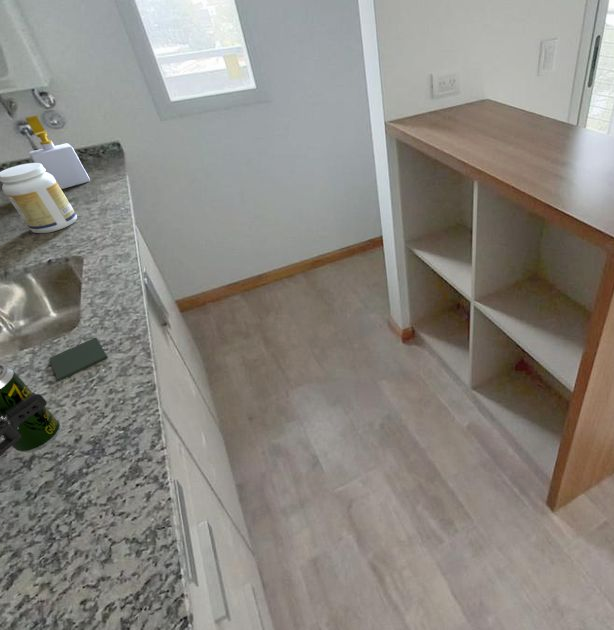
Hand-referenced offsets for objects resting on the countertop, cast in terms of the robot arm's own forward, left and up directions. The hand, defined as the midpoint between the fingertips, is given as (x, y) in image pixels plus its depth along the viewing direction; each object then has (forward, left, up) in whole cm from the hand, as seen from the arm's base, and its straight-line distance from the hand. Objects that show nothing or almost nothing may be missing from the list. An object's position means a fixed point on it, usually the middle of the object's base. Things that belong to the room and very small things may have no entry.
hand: (28, 390), depth 58 cm
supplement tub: (+14, +98, -13) cm, 100 cm away
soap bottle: (+25, +135, -13) cm, 138 cm away
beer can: (-2, -1, -7) cm, 8 cm away
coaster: (+5, +23, -12) cm, 27 cm away
